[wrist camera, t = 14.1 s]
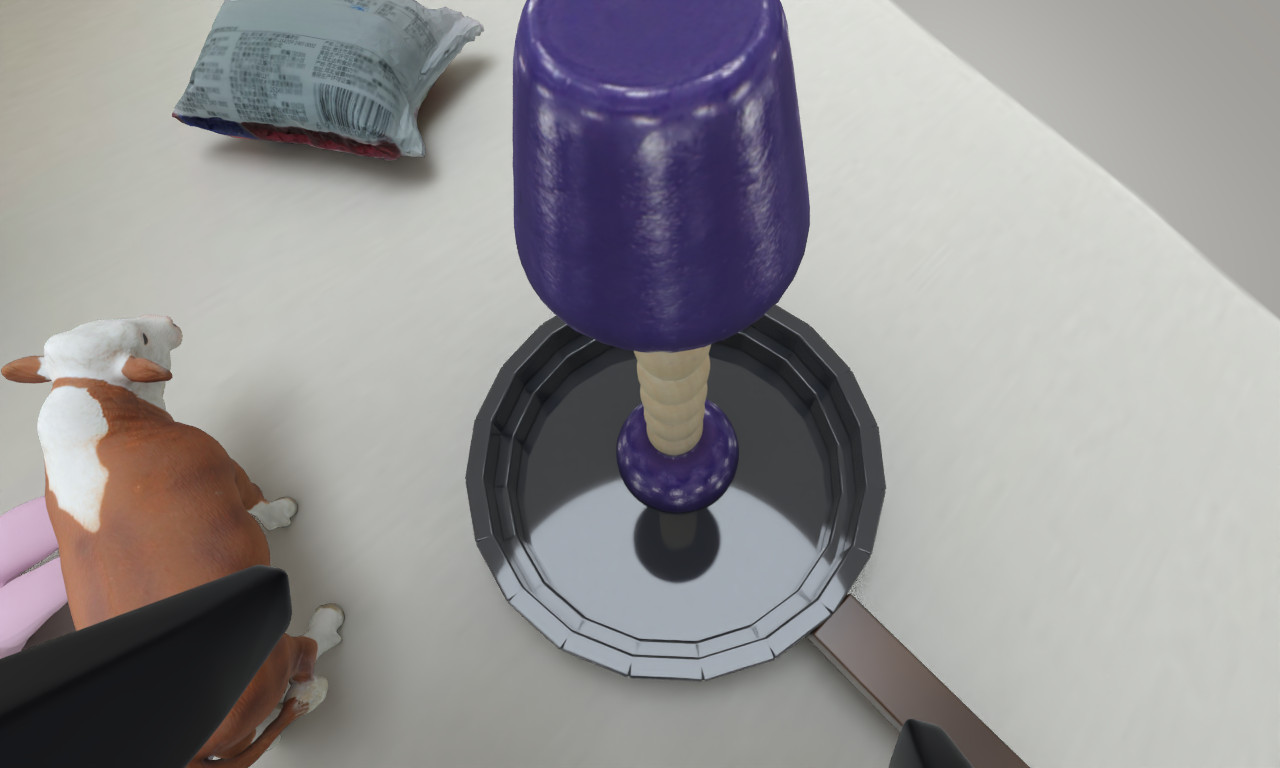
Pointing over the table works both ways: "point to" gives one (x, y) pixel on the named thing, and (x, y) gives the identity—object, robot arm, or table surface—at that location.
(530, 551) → the pan
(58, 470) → the bull figurine
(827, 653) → the pan handle
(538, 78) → the toy lamp
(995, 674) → the table surface
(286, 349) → the table surface
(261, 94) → the packaged food
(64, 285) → the table surface
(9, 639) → the rabbit figure
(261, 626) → the robot arm
